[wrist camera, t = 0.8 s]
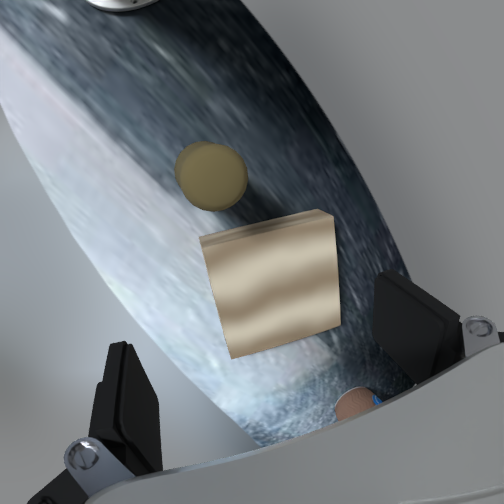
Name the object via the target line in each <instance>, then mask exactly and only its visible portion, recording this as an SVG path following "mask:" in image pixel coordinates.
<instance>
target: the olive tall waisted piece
mask: <svg viewBox="0 0 504 504" xmlns="http://www.w3.org/2000/svg"><path fill="white" fill-rule="evenodd" d="M174 171H175V178H176V180H177V182H178V184H179V186H180V187H181V189H182V191H183V193H184V195H185V197H186V198H187V199H188V200H189V201H190V202H191V203H192V205H194V206H196V207H198V208H200V209H202V210H206V211H212V212H214V211H221V210H225V209H227V208H229V207H231V206H233V205H234V204H235V203H236V202H237V201H238V200H240V199H241V197H242V195H243V194H244V192H245V190H246V186H247V182H248V173H247V167H246V165H245V163H244V160H243V158H242V157H241V156H240V155H239V154H238V153H237V152H236V151H235V150H233V149H231V148H230V147H228V146H225V145H220V144H215V143H212V142H207V141H201V142H195V143H193V144H191V145H189V146H187V147H186V148H185V149H184V150H183V151H182V152H180V154H179V156H178V158H177V160H176V163H175V169H174Z"/></svg>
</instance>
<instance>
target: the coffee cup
mask: <svg viewBox="0 0 504 504" xmlns="http://www.w3.org/2000/svg"><path fill="white" fill-rule="evenodd" d="M380 403H382V401H381V400H380V399H379V398H378V397H377V396H376V395H375V394H374V393H372V392H371V391H370V390H368V389H367V388H365V387H361V386H360V387H355V388H352V389H350V390H348V391H346V392H345V393H344V394H343V395H341V396H340V398H339V399H338V400H337V402H336V404H335V412H336V416H337V418H338V421H341V420H344V419H346V418H349V417H351V416H353V415H356V414H358V413H360V412H363V411H365V410H367V409H369V408H372V407H374V406H376V405H378V404H380Z"/></svg>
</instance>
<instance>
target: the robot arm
mask: <svg viewBox="0 0 504 504" xmlns="http://www.w3.org/2000/svg"><path fill="white" fill-rule="evenodd" d="M85 1H86V2H87V3H89V4H90V5H91V6H93V7H95V8H97V9H101V10H105V11H114V12H120V11H130V10H134V9H139V8H142V7H145V6H148V5H150V4H152V3H154V2H157V1H159V0H85ZM135 2H137V3H135ZM133 3H135V4H133ZM459 319H460V315H458V314H457V313H456V312H454V311H453V310H451V309H450V308H449V307H447V306H446V305H444V304H443V303H441V302H440V301H439V300H437V299H436V298H434V297H433V296H432V295H430V294H429V293H427V292H426V291H424V290H423V289H421V288H420V287H418V286H417V285H415V284H414V283H413V282H411V281H410V280H408V279H407V278H405V277H404V276H402V275H401V274H399V273H398V272H396V271H395V270H393V269H390V270H387V271H383V272H380V273H379V274H378V276H377V278H375V284H374V310H373V328H372V334H373V338H374V340H375V341H376V342H377V343H378V344H379V345H380V346H381V347H382V348H383V349H384V350H385V351H386V352H387V353H388V354H389V356H390V357H391V358H392V359H393V360H394V361H395V362H396V363H397V364H398V365H399V366H400V367H401V368H402V369H403V370H404V371H405V372H406V373H407V375H408V376H409V377H410V378H411V379H412V380H413V381H414V382H415V383H416V384H417V385H416V386H414V387H413V388H411V389H409V390H407V391H405V392H403V393H401V394H399V395H397V396H395V397H393V398H391V399H389V400H387V401H385V402H382V403H380V404H378V405H376V406H374V407H372V408H369V409H367V410H365V411H363V412H360V413H358V414H356V415H353V416H351V417H349V418H346V419H344V420H341V421H339V422H336V423H334V424H331V425H329V426H326V427H324V428H321V429H318V430H315V431H313V432H310V433H307V434H304V435H301V436H298V437H296V438H293V439H290V440H286V441H283V442H280V443H277V444H274V445H271V446H267V447H264V448H261V449H257V450H253V451H250V452H246V453H242V454H238V455H235V456H230V457H226V458H222V459H217V460H213V461H209V462H204V463H200V464H195V465H190V466H185V467H180V468H175V469H169V470H164V471H163V465H162V452H161V438H160V419H159V402H158V398H157V395H156V393H155V391H154V389H153V387H152V385H151V383H150V381H149V379H148V377H147V375H146V373H145V371H144V369H143V367H142V365H141V362H140V360H139V358H138V356H137V353H136V351H135V349H134V347H133V345H132V344H127V342H126V341H122V342H117V343H112V344H110V346H109V351H108V355H107V360H106V366H105V370H104V376H103V381H102V382H99V383H98V384H97V388H96V393H95V398H94V404H93V410H92V416H91V422H90V428H89V435H88V437H84V438H80V439H78V440H76V441H74V442H72V443H71V444H70V445H69V446H68V448H67V449H66V451H65V454H64V464H65V466H66V469H65V470H64V471H63V472H62V473H61V474H59V475H58V476H57V477H56V478H55V479H53V480H52V481H51V482H50V483H49V484H47V485H46V486H45V487H44V488H43V489H42V490H40V491H39V492H38V493H37V494H35V495H34V496H33V497H32V498H31V499H30V500H29V501H28V503H27V504H504V332H497V328H496V326H495V324H494V323H493V322H492V321H491V320H489V319H488V318H485V317H482V316H471V317H468V318H466V319H465V320H464V321H463V323H461V322H459Z"/></svg>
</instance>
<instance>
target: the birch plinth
mask: <svg viewBox="0 0 504 504" xmlns="http://www.w3.org/2000/svg"><path fill="white" fill-rule="evenodd" d="M199 240H200V244H201V248H202V252H203V256H204V260H205V264H206V268H207V272H208V276H209V280H210V284H211V288H212V292H213V296H214V299H215V303H216V307H217V311H218V314H219V318H220V322H221V326H222V329H223V333H224V336H225V340H226V343H227V347H228V350H229V353H230V357H231V359H235V358H239V357H242V356H246V355H249V354H253V353H256V352H260V351H263V350H267V349H270V348H273V347H277V346H280V345H283V344H286V343H289V342H293V341H296V340H299V339H302V338H305V337H308V336H311V335H314V334H317V333H320V332H323V331H326V330H329V329H331V328H334V327H337V326H340V325H341V319H340V297H339V279H338V264H337V251H336V239H335V228H334V218H333V216H332V215H330V214H327V213H325V212H323V211H321V210H319V209H315V210H311V211H306V212H302V213H297V214H293V215H289V216H284V217H280V218H276V219H271V220H267V221H263V222H259V223H254V224H250V225H246V226H242V227H238V228H233V229H229V230H225V231H221V232H217V233H213V234H209V235H205V236H201V237H199Z"/></svg>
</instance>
